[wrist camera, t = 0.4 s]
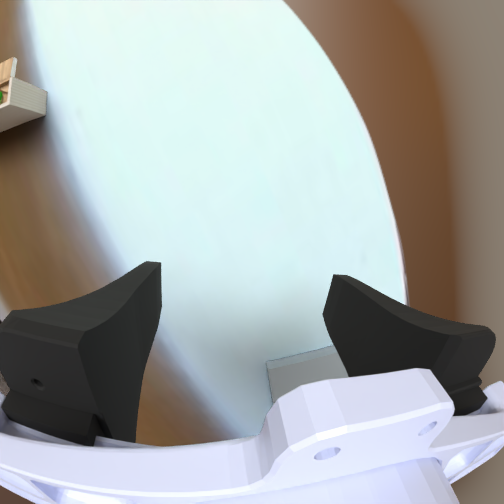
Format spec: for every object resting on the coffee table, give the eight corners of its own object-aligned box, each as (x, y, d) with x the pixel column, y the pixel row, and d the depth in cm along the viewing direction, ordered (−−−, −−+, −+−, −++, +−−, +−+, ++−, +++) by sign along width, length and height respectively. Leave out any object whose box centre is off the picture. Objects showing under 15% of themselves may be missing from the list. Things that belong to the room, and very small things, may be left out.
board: (344, 477, 34) (349, 489, 31) (288, 493, 33) (291, 506, 30) (356, 338, 26) (369, 353, 24) (265, 361, 25) (271, 379, 23)
